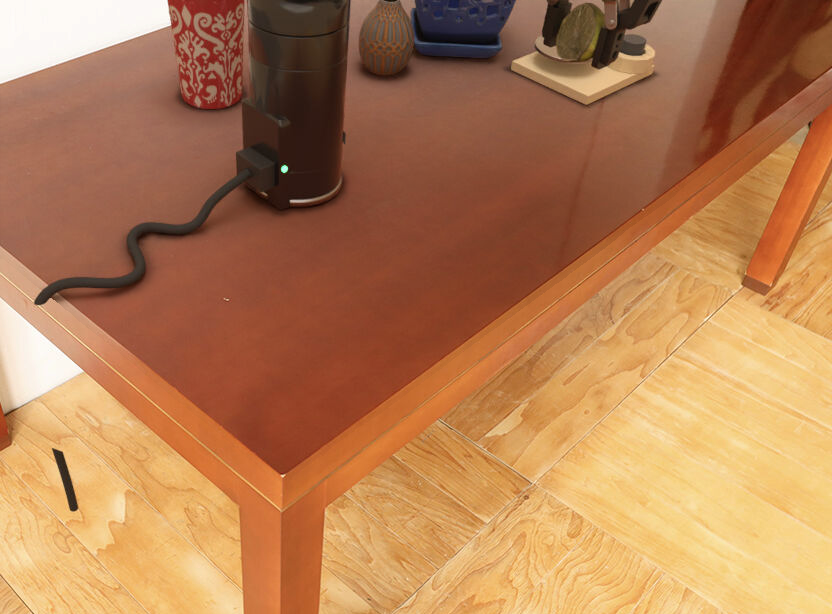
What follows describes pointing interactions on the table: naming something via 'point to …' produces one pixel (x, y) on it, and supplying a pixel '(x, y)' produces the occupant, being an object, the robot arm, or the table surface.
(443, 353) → the table surface
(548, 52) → the weighing plate
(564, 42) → the lime
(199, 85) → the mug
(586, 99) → the scale
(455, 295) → the table surface
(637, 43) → the tare button
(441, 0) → the flower pot
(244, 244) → the table surface
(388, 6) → the vase
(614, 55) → the robot arm
